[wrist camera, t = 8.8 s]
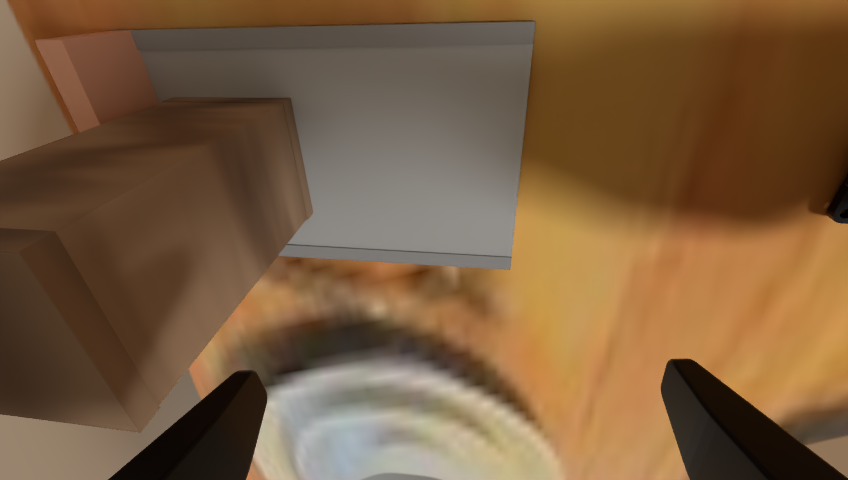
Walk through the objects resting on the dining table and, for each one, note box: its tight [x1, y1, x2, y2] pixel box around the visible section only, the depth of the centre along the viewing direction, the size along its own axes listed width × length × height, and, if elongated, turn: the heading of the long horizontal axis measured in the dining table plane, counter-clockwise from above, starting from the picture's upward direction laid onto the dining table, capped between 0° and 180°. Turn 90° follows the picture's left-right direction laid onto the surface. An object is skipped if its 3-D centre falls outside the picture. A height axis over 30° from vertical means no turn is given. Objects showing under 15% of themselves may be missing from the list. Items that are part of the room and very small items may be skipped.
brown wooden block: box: [0, 97, 313, 433], centre depth 16 cm, size 6×6×13 cm
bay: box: [34, 21, 536, 270], centre depth 19 cm, size 19×12×4 cm, turn 92°
